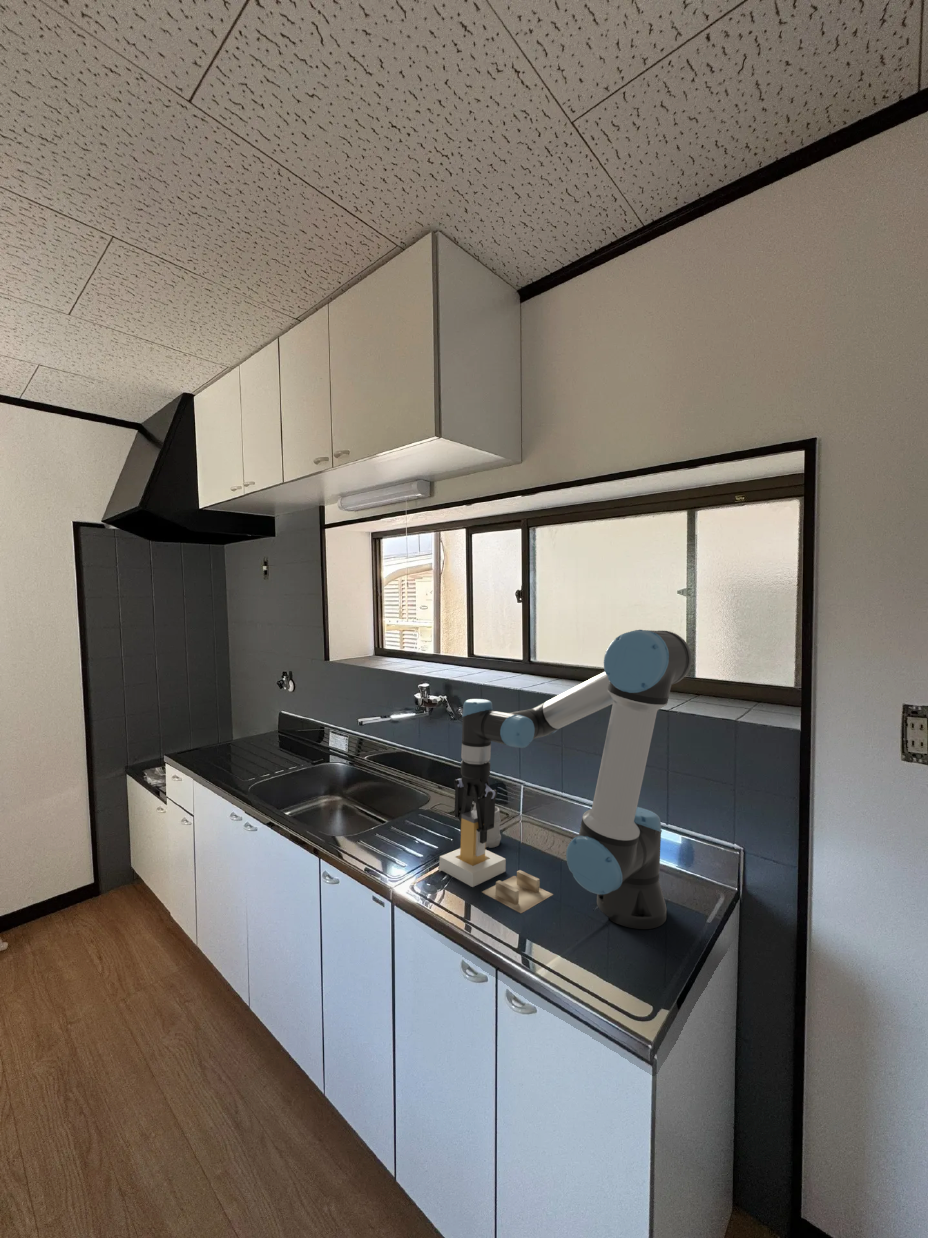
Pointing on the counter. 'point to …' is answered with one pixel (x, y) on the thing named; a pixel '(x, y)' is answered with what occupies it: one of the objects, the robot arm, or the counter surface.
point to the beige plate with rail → (518, 892)
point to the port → (472, 867)
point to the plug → (469, 839)
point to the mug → (493, 830)
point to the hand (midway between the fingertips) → (472, 850)
